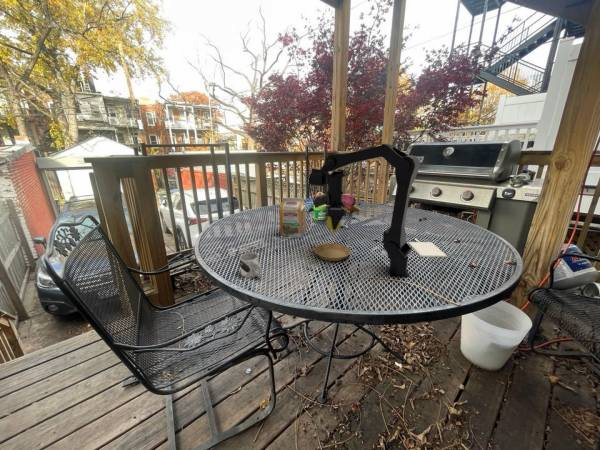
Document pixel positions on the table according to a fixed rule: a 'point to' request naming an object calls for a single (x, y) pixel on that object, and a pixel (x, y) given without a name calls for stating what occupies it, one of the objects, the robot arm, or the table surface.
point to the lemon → (329, 224)
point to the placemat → (427, 249)
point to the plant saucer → (332, 251)
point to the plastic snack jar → (292, 217)
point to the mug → (250, 265)
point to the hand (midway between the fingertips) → (333, 227)
